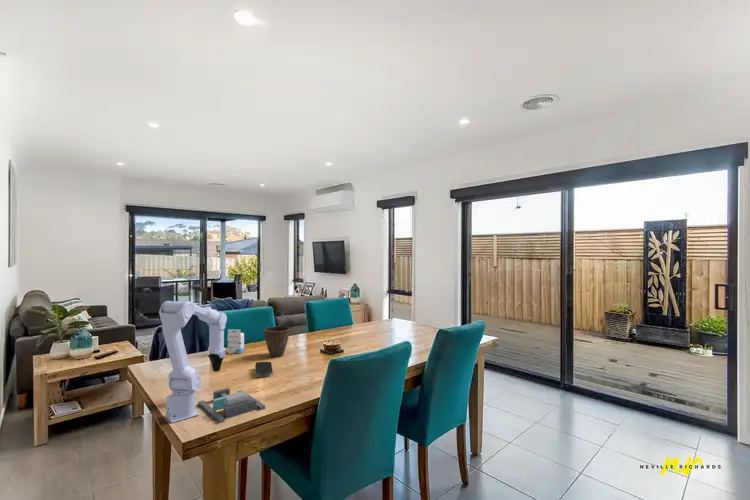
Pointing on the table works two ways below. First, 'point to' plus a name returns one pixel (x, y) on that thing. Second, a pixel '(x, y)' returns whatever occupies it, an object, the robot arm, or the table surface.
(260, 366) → the black sponge
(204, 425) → the table surface
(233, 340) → the ink box
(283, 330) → the plant pot
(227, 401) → the steel block
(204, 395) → the table surface
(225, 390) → the sliding jaw
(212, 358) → the robot arm
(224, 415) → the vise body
